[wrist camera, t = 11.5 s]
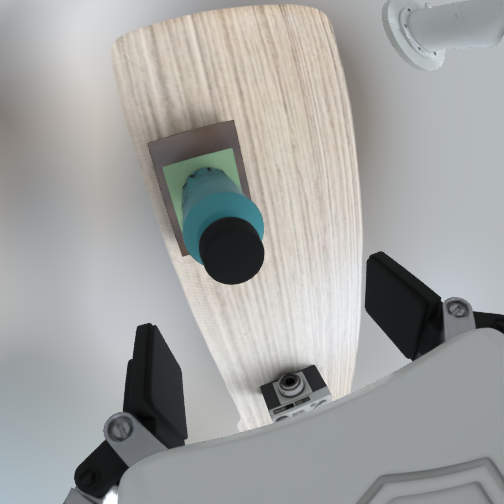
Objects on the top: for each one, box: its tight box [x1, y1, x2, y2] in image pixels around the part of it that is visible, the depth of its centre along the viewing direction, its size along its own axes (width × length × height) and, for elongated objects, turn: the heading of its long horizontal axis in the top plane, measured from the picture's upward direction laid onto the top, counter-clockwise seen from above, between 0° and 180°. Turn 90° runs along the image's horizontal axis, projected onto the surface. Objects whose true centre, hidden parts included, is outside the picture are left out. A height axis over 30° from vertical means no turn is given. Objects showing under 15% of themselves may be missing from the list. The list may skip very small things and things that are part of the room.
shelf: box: [148, 120, 251, 256], centre depth 36 cm, size 16×11×4 cm
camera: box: [260, 365, 332, 423], centre depth 55 cm, size 14×8×10 cm, turn 107°
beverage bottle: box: [181, 166, 264, 285], centre depth 25 cm, size 6×7×20 cm
